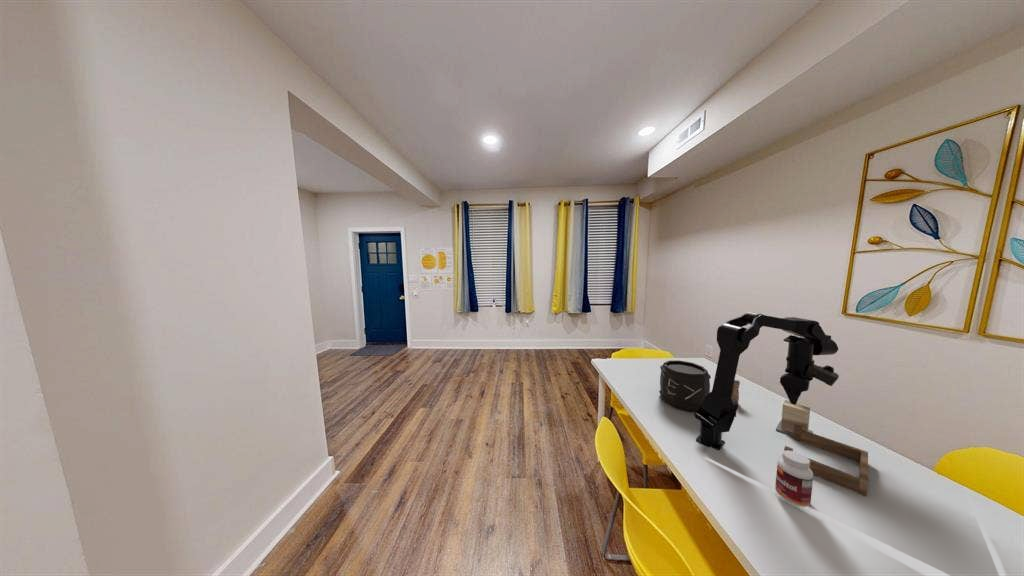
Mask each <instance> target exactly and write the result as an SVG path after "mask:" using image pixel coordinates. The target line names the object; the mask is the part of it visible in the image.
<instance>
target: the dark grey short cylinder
mask: <svg viewBox="0 0 1024 576" xmlns="http://www.w3.org/2000/svg"><path fill="white" fill-rule="evenodd" d="M659 369H660V378H659V386H660V390H659V391H658V392H659V394H660V397H661V399H662V401H663V402H664V403H666V404H667V405H669V406H671V407H672V408H674V409H677V410H681V411H683V412H687V413H694V412H695V411H696V410H697V409H698V408H699V407H700V406H701V405H702V403H703V401H704V398H705V396H706V395H708V394H709V393H710V392H711V381H710V379H711V378H712V376H711V375H710V373H709V371H708V369H706V368H705V367H704V366H703V365H699V364H697V363H694V362H691V361H685V360H679V359H678V360H677V359H676V360H667V361H665V362H663V364H662V365H660V367H659Z"/></svg>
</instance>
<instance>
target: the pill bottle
mask: <svg viewBox="0 0 1024 576" xmlns="http://www.w3.org/2000/svg"><path fill="white" fill-rule="evenodd" d="M781 456H782V457H780V458H779V459H778V460H777V463H776V464H777V465H776V473H775V474H776V475H775V484H774V486H775V489H774V490H775V491H776V493H777V495H779V497H781V498H782V499H783V500H785V501H786V502H788V503H789V504H791V505H792V504H793V505H794V506H797V507H802V508H806V507H809V506H810V505H811V502H812V493H813V483H814V475H813V472H812V470H811V469H810V468H809V467H810V461H809V459H810V458H809V457H806V455H803V454H801V453H800V452H797V451H794V450H793V451H789V450H785V451H784V450H783V451H782V455H781ZM808 458H809V459H808Z"/></svg>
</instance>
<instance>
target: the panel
mask: <svg viewBox="0 0 1024 576" xmlns="http://www.w3.org/2000/svg"><path fill="white" fill-rule="evenodd" d="M781 421H782V420H779V422H778V424H777V426H776V428H775V431H777V432H780V433H782V434H785V435H787V436H791V437H793V434H794V433H792V432H789V431H786V430H784V429H781ZM808 432H810V433H813V434H814V431H813V430H810V429H808Z"/></svg>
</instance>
